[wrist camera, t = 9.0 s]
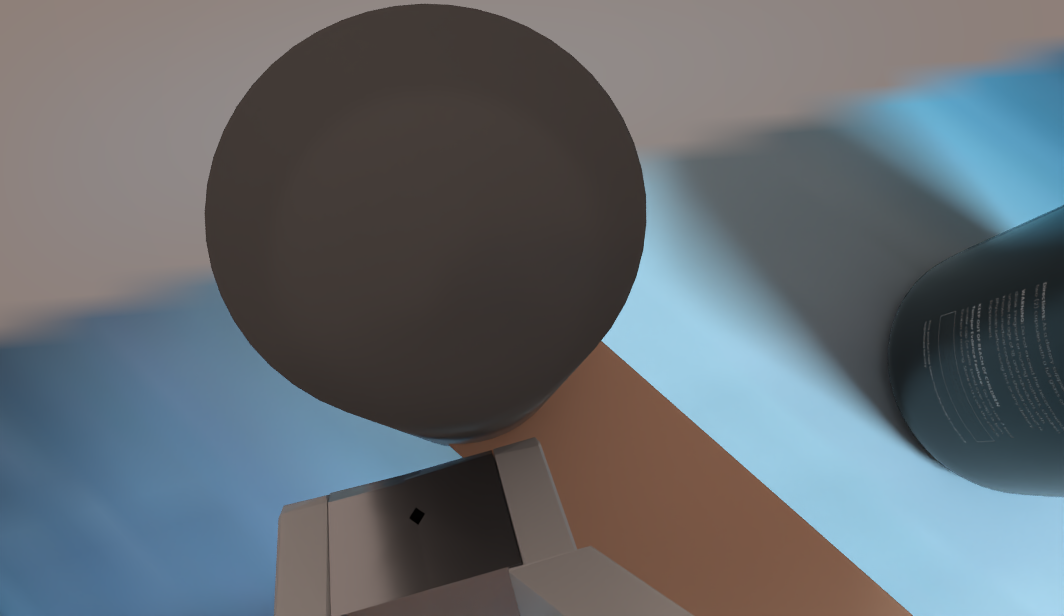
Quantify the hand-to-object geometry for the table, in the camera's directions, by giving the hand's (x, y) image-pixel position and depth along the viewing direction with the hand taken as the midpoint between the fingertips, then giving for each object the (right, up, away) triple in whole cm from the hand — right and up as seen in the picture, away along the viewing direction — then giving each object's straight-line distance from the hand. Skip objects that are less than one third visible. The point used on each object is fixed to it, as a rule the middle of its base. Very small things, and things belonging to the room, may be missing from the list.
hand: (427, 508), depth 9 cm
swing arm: (+6, -4, +4) cm, 8 cm away
